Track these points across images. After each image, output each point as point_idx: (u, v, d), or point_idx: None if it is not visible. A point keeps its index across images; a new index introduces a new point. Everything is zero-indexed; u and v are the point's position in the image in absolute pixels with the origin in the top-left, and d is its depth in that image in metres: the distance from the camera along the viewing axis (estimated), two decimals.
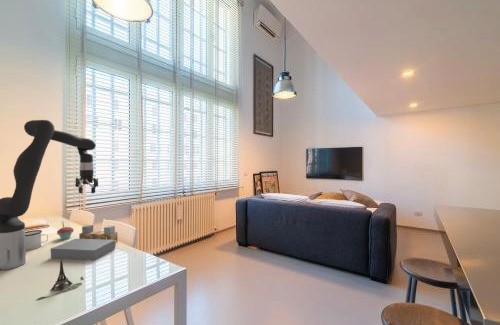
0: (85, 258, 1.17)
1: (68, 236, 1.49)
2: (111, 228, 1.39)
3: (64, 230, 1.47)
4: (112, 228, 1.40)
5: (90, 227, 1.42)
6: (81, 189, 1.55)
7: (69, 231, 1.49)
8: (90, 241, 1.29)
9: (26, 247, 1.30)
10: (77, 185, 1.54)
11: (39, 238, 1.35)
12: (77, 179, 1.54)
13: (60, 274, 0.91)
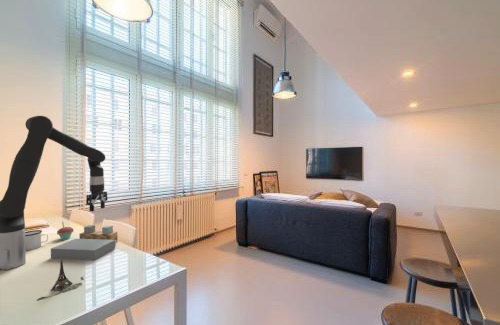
0: (85, 258, 1.17)
1: (68, 236, 1.49)
2: (109, 228, 1.39)
3: (64, 230, 1.47)
4: (110, 228, 1.40)
5: (92, 227, 1.41)
6: None
7: (69, 231, 1.49)
8: (90, 241, 1.29)
9: (26, 247, 1.30)
10: None
11: (39, 238, 1.35)
12: (91, 196, 1.36)
13: (60, 274, 0.91)
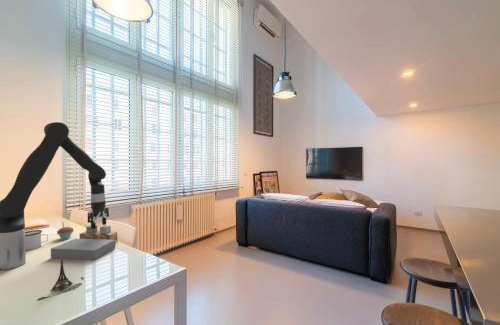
0: (85, 258, 1.17)
1: (68, 236, 1.49)
2: (107, 228, 1.40)
3: (64, 230, 1.47)
4: (108, 228, 1.40)
5: None
6: None
7: (69, 231, 1.49)
8: (90, 241, 1.29)
9: (26, 247, 1.30)
10: None
11: (39, 238, 1.35)
12: (92, 213, 1.35)
13: (60, 274, 0.91)
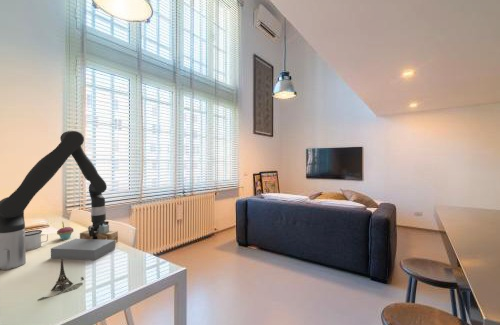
0: (85, 258, 1.17)
1: (68, 236, 1.49)
2: (105, 227, 1.40)
3: (64, 230, 1.47)
4: (106, 227, 1.41)
5: None
6: None
7: (69, 231, 1.49)
8: (90, 241, 1.29)
9: (26, 247, 1.30)
10: (94, 234, 1.37)
11: (39, 238, 1.35)
12: (93, 228, 1.36)
13: (61, 274, 0.91)
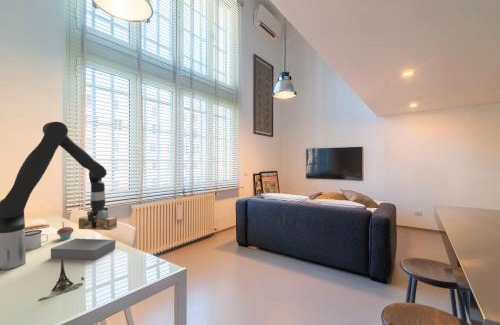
0: (85, 258, 1.17)
1: (68, 236, 1.49)
2: (104, 213, 1.40)
3: (64, 230, 1.47)
4: (105, 213, 1.40)
5: None
6: None
7: (69, 231, 1.49)
8: (90, 241, 1.29)
9: (26, 247, 1.30)
10: None
11: (39, 238, 1.35)
12: (92, 213, 1.35)
13: (61, 274, 0.91)
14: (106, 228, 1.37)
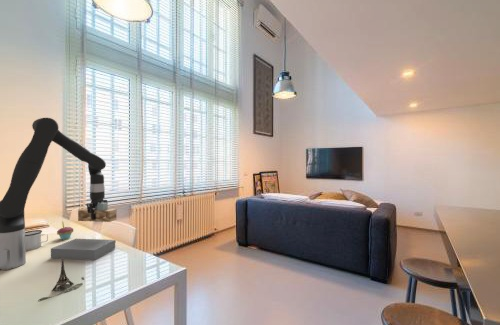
0: (85, 258, 1.17)
1: (68, 236, 1.49)
2: (104, 205, 1.39)
3: (64, 230, 1.47)
4: (105, 205, 1.40)
5: None
6: None
7: (69, 231, 1.49)
8: (90, 241, 1.29)
9: (26, 247, 1.30)
10: (92, 211, 1.36)
11: (39, 238, 1.35)
12: (92, 204, 1.35)
13: (61, 274, 0.91)
14: (106, 220, 1.37)
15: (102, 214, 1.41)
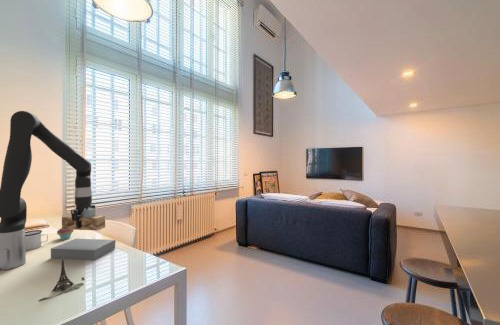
0: (85, 258, 1.17)
1: (68, 236, 1.49)
2: (91, 211, 1.24)
3: (64, 230, 1.47)
4: (92, 211, 1.24)
5: None
6: None
7: (69, 231, 1.49)
8: (90, 241, 1.29)
9: (26, 247, 1.30)
10: (77, 218, 1.20)
11: (39, 238, 1.35)
12: (76, 211, 1.19)
13: (62, 275, 0.91)
14: (93, 228, 1.22)
15: (89, 221, 1.25)
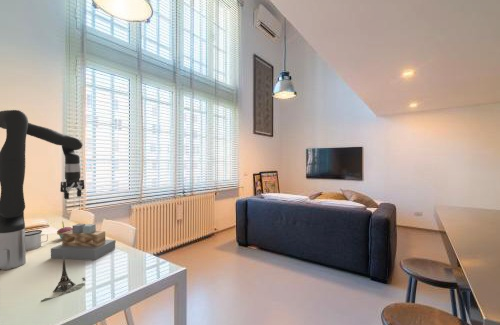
0: (85, 258, 1.17)
1: None
2: (91, 227, 1.24)
3: (64, 230, 1.47)
4: (92, 227, 1.25)
5: (82, 226, 1.25)
6: None
7: None
8: None
9: (26, 247, 1.30)
10: (65, 190, 1.34)
11: (39, 238, 1.35)
12: (66, 183, 1.34)
13: (63, 275, 0.90)
14: (93, 244, 1.22)
15: (89, 237, 1.25)
